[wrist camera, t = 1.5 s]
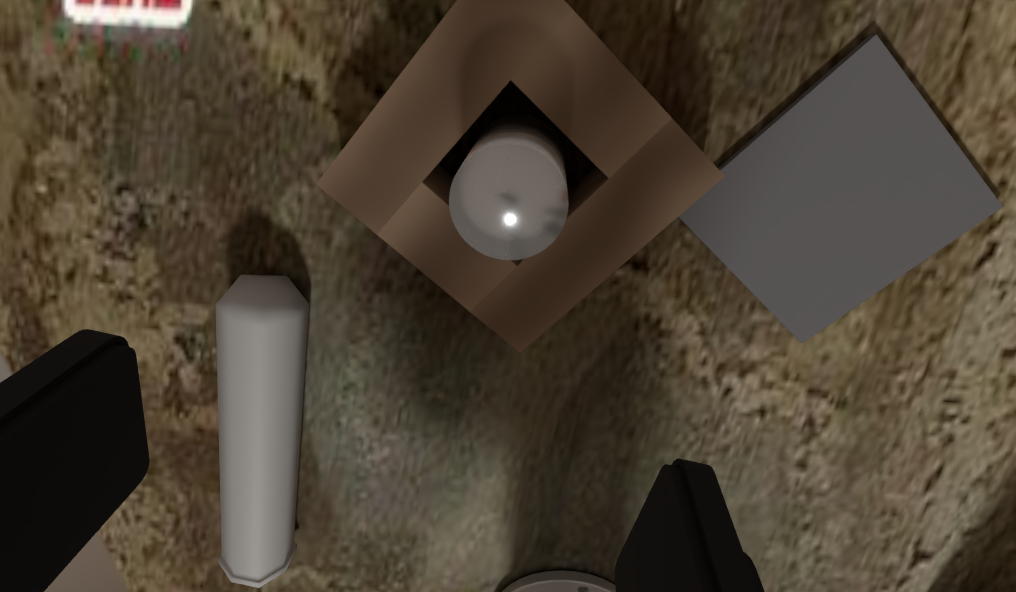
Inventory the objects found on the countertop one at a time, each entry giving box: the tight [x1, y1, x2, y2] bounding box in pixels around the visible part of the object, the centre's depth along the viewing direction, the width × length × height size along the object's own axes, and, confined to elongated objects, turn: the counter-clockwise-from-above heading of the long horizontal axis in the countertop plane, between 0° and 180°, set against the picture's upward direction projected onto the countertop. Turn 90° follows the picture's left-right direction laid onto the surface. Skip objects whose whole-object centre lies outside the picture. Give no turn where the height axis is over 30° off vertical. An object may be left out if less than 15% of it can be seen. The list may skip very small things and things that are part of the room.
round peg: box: [449, 114, 568, 260], centre depth 26 cm, size 5×5×8 cm
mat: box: [679, 34, 1003, 343], centre depth 29 cm, size 12×12×1 cm
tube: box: [216, 275, 309, 588], centre depth 37 cm, size 5×5×25 cm
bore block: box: [316, 0, 725, 353], centre depth 28 cm, size 14×14×4 cm
